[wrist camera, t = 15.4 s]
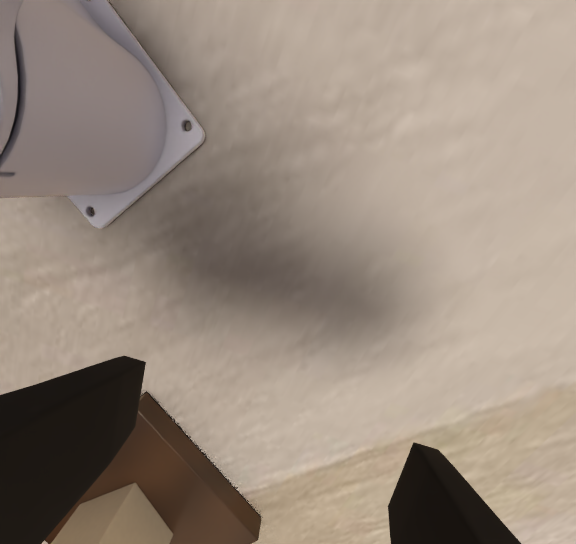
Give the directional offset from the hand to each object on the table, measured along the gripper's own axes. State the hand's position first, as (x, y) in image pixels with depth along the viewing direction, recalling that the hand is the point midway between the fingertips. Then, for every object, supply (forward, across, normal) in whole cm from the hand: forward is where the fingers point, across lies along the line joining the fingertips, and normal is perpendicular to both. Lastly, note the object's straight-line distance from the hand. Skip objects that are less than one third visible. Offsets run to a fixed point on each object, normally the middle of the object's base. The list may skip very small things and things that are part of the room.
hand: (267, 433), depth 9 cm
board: (+11, +8, +17) cm, 21 cm away
